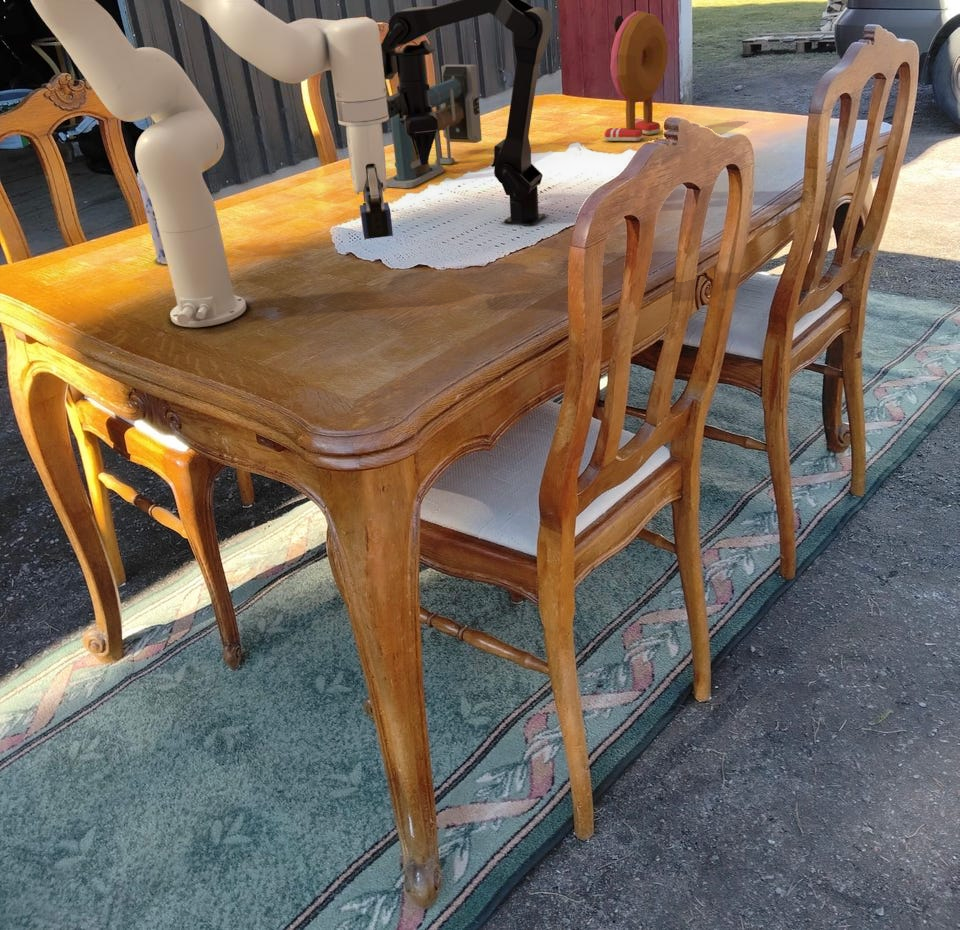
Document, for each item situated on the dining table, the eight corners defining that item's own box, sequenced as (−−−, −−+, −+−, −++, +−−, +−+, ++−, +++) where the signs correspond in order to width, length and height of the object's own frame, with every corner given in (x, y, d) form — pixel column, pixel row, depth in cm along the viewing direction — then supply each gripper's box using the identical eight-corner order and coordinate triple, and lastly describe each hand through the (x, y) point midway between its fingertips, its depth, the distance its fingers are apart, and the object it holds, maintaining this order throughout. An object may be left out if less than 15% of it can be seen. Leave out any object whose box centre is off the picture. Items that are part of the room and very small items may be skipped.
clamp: (411, 188, 225) (400, 91, 214) (380, 186, 229) (368, 91, 218) (482, 152, 251) (476, 64, 240) (453, 150, 255) (446, 64, 244)
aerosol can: (156, 266, 189) (130, 162, 179) (157, 254, 195) (131, 153, 185) (197, 260, 190) (173, 156, 180) (196, 248, 197) (173, 148, 187)
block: (390, 228, 154) (387, 202, 152) (393, 235, 150) (390, 209, 148) (362, 231, 154) (359, 205, 151) (364, 239, 150) (361, 212, 148)
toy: (639, 125, 264) (640, 5, 249) (672, 128, 258) (675, 5, 243) (595, 143, 250) (594, 16, 235) (629, 146, 245) (630, 16, 229)
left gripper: (335, 103, 149) (350, 219, 159) (339, 124, 135) (356, 251, 144) (383, 98, 150) (396, 214, 159) (392, 118, 136) (406, 245, 145)
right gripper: (369, 76, 198) (378, 154, 206) (375, 91, 182) (386, 174, 190) (422, 70, 199) (430, 148, 207) (434, 84, 183) (442, 168, 191)
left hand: (377, 230), depth 152 cm, fingers closed on block, 4 cm apart
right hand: (421, 159), depth 199 cm, fingers open, 9 cm apart
